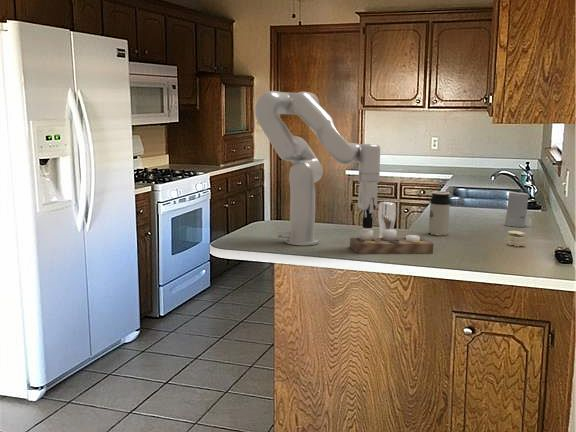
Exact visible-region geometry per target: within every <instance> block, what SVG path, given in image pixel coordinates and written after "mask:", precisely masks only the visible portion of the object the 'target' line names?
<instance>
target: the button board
mask: <svg viewBox="0 0 576 432" xmlns="http://www.w3.org/2000/svg"><path fill="white" fill-rule="evenodd" d="M349 248H350V249H352V250H353V251H354V252H356V253H357V254H365V255H367V254H369V255H370V254H376V255H377V254H433V253H434V243H432V242H431V241H429V240H428V239H425V238H423V237H420V241H407V240H406V237H396V241H383V238H379V237H373V241H359V237H350V238H349Z"/></svg>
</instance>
